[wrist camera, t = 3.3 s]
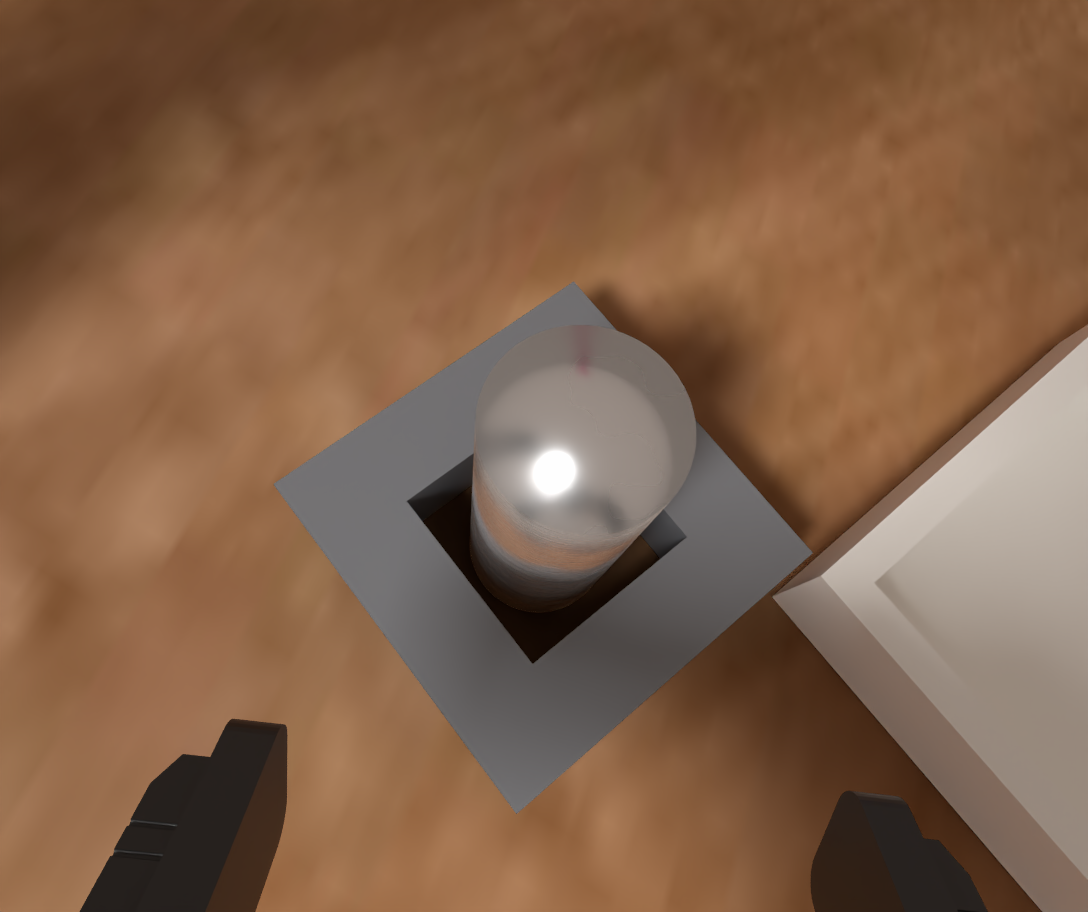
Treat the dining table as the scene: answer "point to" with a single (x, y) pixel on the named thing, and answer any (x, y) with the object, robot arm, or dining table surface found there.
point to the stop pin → (572, 461)
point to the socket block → (465, 619)
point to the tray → (981, 623)
